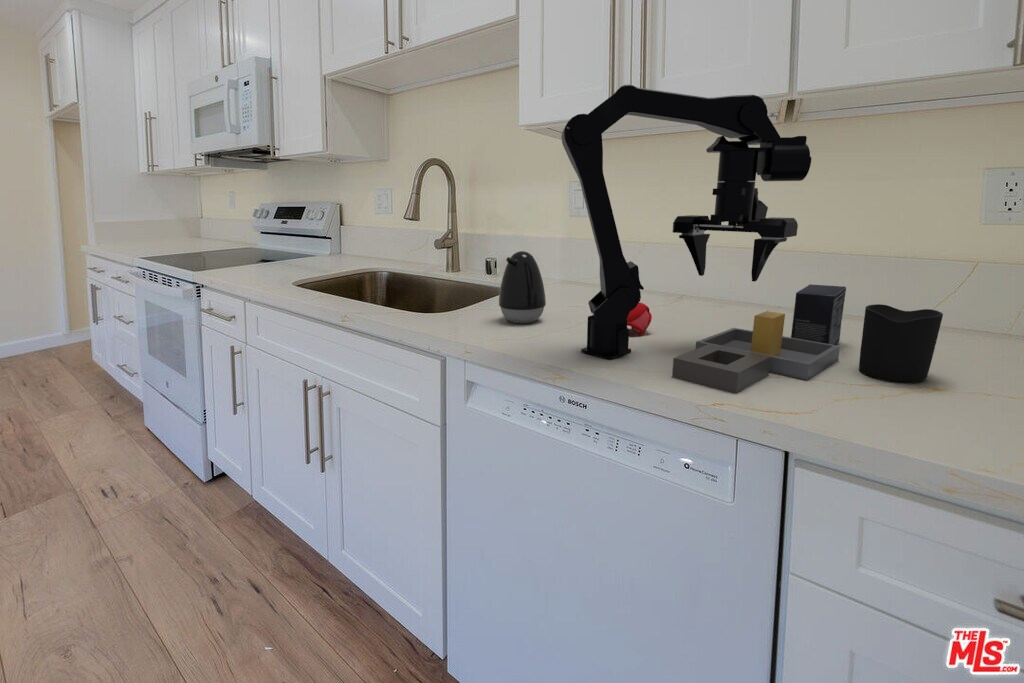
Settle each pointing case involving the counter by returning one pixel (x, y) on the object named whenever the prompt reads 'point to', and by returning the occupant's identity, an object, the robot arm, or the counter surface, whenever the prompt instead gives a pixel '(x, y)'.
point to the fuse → (768, 333)
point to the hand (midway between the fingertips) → (727, 278)
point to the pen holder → (898, 343)
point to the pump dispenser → (522, 289)
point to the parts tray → (782, 353)
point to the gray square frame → (721, 367)
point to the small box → (818, 313)
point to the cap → (639, 318)
